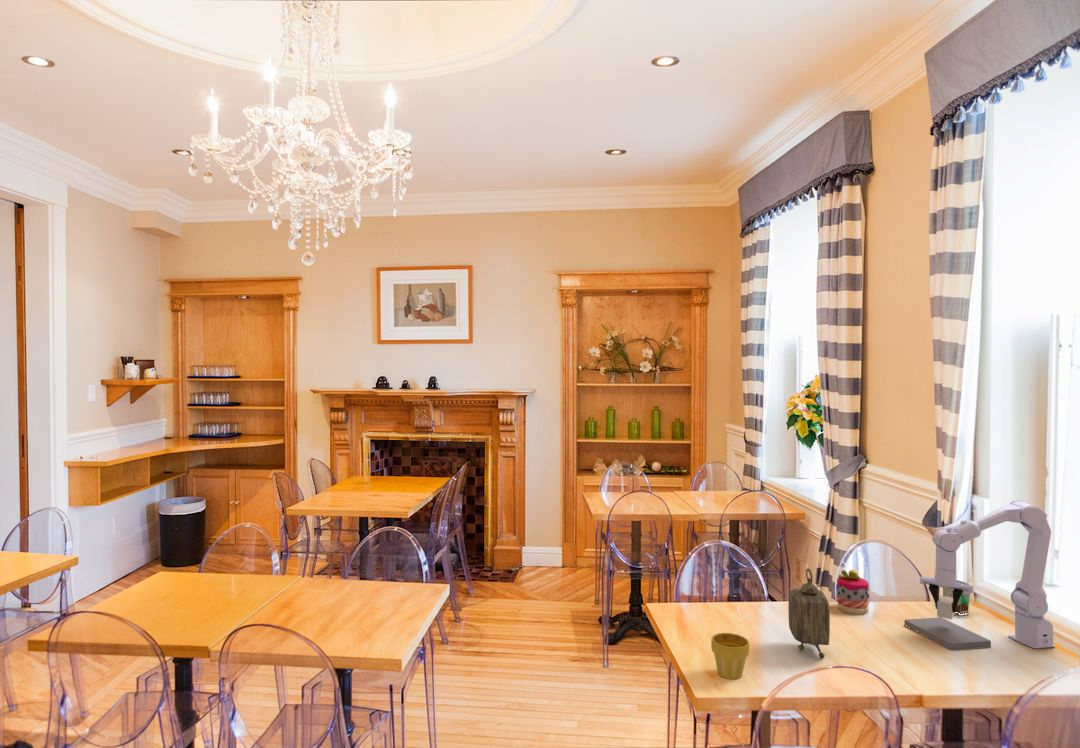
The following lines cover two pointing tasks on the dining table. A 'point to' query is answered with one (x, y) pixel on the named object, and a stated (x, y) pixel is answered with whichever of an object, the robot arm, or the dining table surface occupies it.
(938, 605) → the housing
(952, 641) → the grey flat block
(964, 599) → the food container
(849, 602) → the cake
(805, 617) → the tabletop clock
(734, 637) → the plant pot
